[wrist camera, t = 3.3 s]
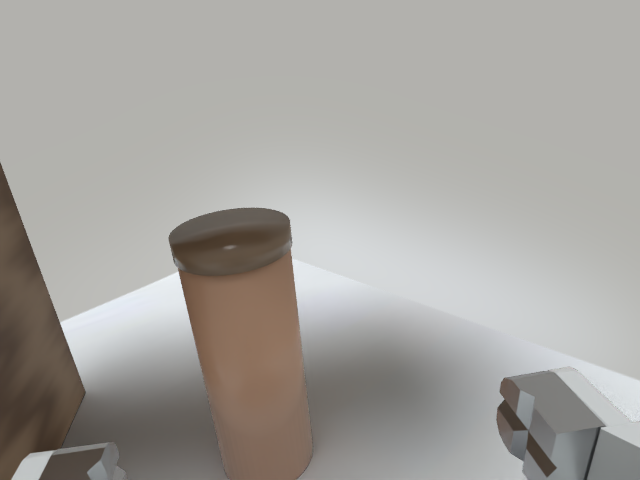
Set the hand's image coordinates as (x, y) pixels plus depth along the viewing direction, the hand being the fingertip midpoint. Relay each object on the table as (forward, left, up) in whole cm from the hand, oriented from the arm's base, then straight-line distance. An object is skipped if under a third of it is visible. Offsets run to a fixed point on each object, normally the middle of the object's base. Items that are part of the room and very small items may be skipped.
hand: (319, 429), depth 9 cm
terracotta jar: (+11, +2, -13) cm, 17 cm away
